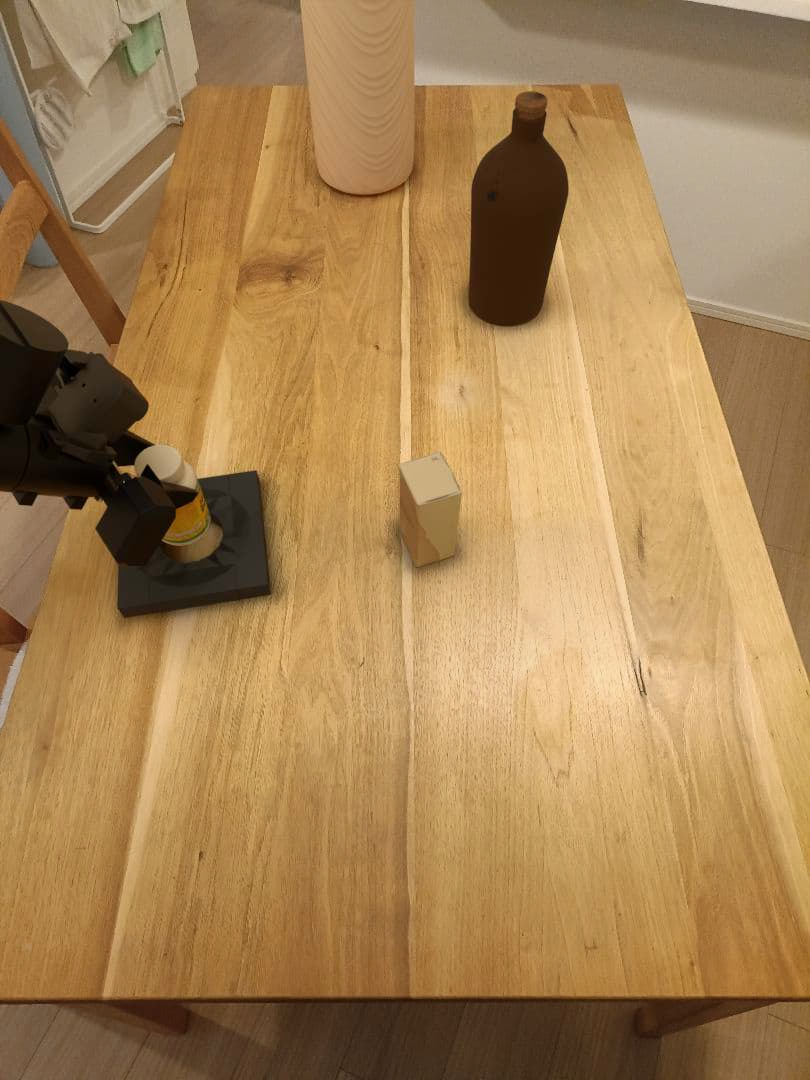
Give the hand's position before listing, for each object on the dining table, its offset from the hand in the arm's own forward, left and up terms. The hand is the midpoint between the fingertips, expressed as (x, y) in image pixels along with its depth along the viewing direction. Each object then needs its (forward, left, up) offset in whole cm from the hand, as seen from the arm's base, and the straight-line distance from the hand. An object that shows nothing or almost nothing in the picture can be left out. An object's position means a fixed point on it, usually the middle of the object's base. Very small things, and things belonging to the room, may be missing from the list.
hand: (180, 476), depth 69 cm
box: (+22, -5, -11) cm, 25 cm away
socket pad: (-1, -1, -10) cm, 11 cm away
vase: (+26, +61, -11) cm, 68 cm away
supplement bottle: (-1, -1, -7) cm, 7 cm away
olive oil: (+39, +29, -11) cm, 50 cm away
